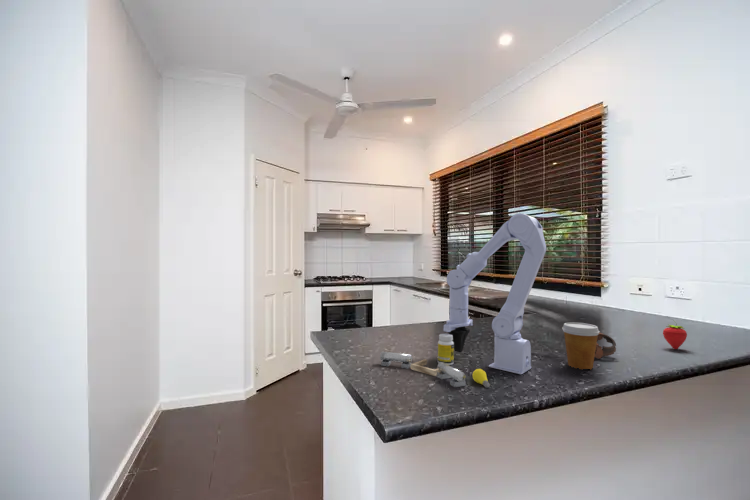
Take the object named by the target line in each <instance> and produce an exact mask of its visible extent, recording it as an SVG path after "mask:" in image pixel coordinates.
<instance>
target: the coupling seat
mask: <svg viewBox="0 0 750 500" xmlns="http://www.w3.org/2000/svg"><path fill="white" fill-rule="evenodd" d="M426 365H428V359H426V358H424V359H421V360H418V361H416V362H412V363H411V366H410V370H413V371H416V372H420V373H423V374H425V375H429V376H433V377H437V372H441V371H439V370H438V368H435V369H434V368H429V367H428V366H427V367H426Z"/></svg>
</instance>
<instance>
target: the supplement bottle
mask: <svg viewBox="0 0 750 500" xmlns="http://www.w3.org/2000/svg"><path fill="white" fill-rule="evenodd" d="M438 339H439V340H438V341H437V363H438V364H439V363H440V362H443V363H445V364H447V365H449V366H452V365H454V363H455V358H454V357H455V350H454V342H453V341H452V340H453V335H451V334H449V333H440V334H439V335H438Z"/></svg>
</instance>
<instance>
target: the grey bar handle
mask: <svg viewBox="0 0 750 500" xmlns="http://www.w3.org/2000/svg"><path fill="white" fill-rule="evenodd" d="M379 356H380V357H379V358H380V361H381V367H389V366H390V365H391V364H392V362H394V363H395V362H396V363H397V362H398V363H401V369H405V370H406V369H407V370H409V368H411V364H413V354H409V353H399V352H389V351H380V355H379Z"/></svg>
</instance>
